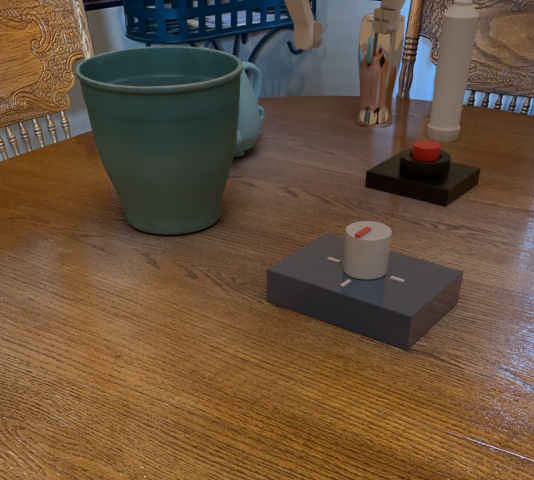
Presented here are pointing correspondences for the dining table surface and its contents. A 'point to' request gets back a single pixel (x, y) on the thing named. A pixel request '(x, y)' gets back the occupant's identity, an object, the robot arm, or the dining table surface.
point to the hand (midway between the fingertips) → (347, 40)
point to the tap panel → (365, 292)
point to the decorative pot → (249, 110)
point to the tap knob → (366, 250)
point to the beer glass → (378, 72)
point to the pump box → (423, 178)
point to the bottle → (452, 70)
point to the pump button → (426, 150)
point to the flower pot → (165, 131)
